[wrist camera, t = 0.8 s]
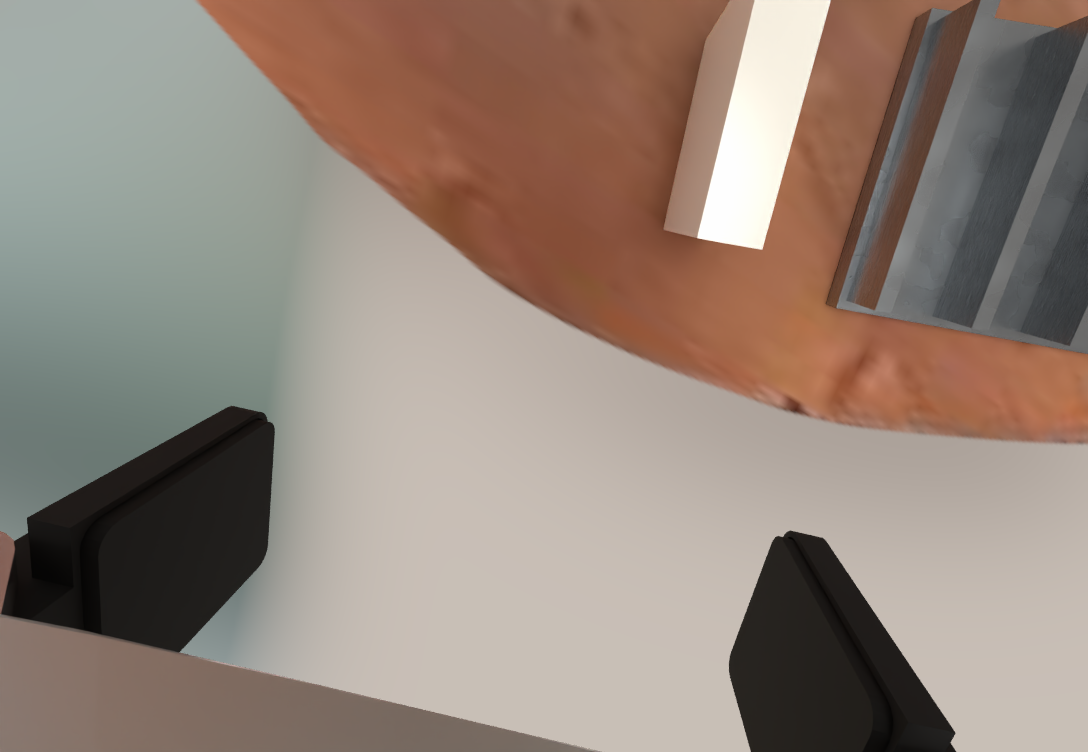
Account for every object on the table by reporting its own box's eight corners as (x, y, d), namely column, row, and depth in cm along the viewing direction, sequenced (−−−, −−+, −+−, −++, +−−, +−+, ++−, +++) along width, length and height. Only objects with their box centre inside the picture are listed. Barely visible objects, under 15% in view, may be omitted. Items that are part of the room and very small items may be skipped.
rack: (826, 303, 34) (863, 318, 29) (915, 18, 29) (977, -20, 25) (1103, 354, 33) (1189, 378, 28) (1236, 69, 29) (1363, 41, 24)
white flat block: (663, 229, 33) (697, 238, 22) (705, 39, 31) (770, -65, 19) (705, 237, 33) (762, 249, 22) (752, 47, 31) (845, -54, 19)
